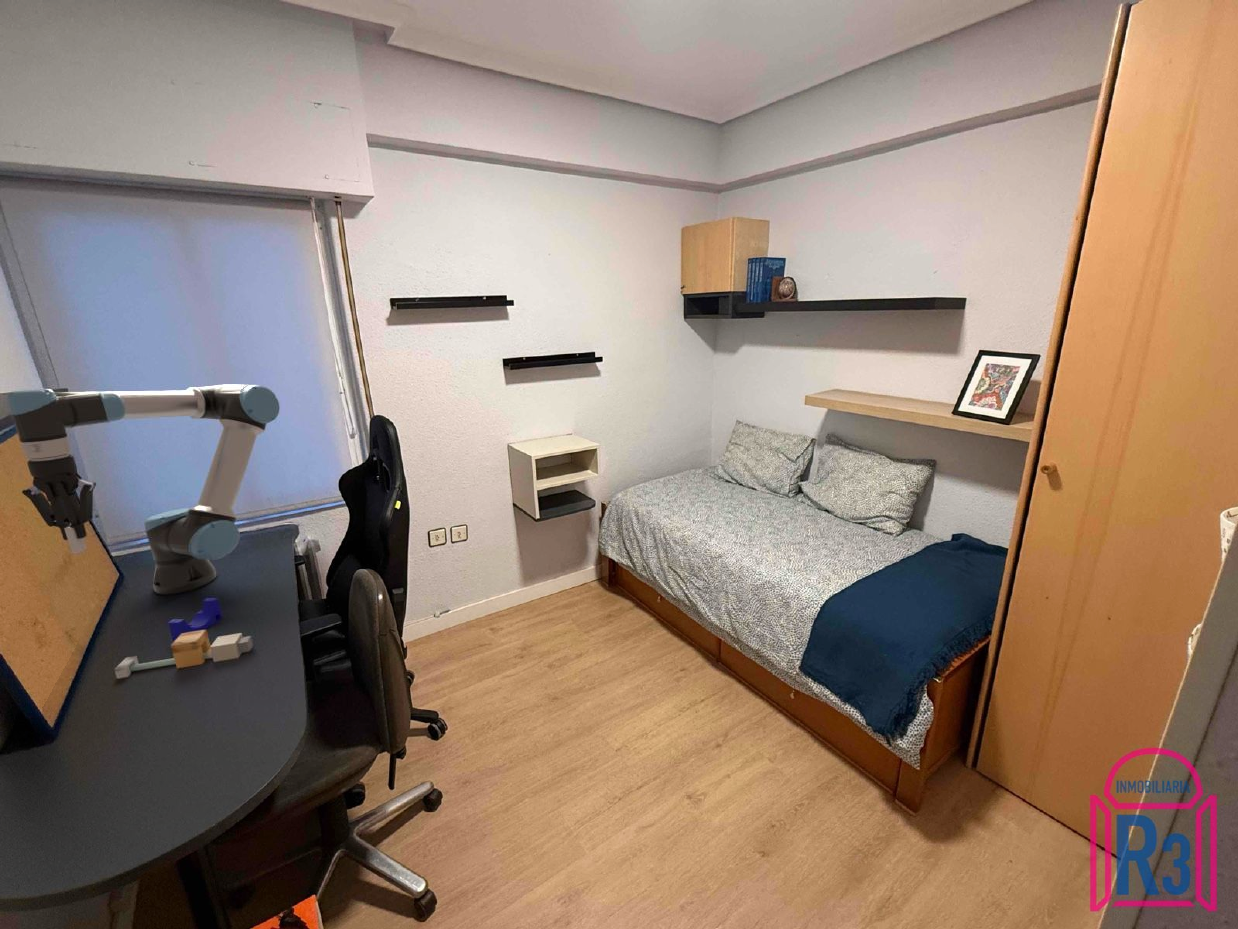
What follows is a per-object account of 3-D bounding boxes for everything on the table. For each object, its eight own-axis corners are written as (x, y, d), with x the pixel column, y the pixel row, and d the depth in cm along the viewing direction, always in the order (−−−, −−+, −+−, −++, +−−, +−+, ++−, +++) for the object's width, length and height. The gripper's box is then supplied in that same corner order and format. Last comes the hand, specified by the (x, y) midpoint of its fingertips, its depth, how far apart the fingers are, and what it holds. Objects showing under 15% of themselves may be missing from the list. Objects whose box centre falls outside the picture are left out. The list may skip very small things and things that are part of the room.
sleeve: (177, 668, 122) (170, 645, 120) (187, 655, 127) (181, 633, 125) (202, 664, 123) (196, 641, 122) (211, 651, 128) (206, 629, 127)
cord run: (116, 678, 119) (111, 663, 118) (128, 666, 123) (123, 651, 122) (248, 656, 126) (244, 641, 125) (255, 645, 130) (251, 631, 129)
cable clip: (207, 617, 144) (202, 598, 142) (222, 617, 144) (217, 598, 142) (168, 643, 132) (162, 622, 131) (185, 643, 132) (179, 622, 131)
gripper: (1, 463, 117) (34, 561, 123) (73, 458, 120) (103, 553, 127) (26, 456, 124) (57, 548, 130) (94, 450, 127) (121, 541, 134)
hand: (79, 550), depth 128 cm, fingers closed
